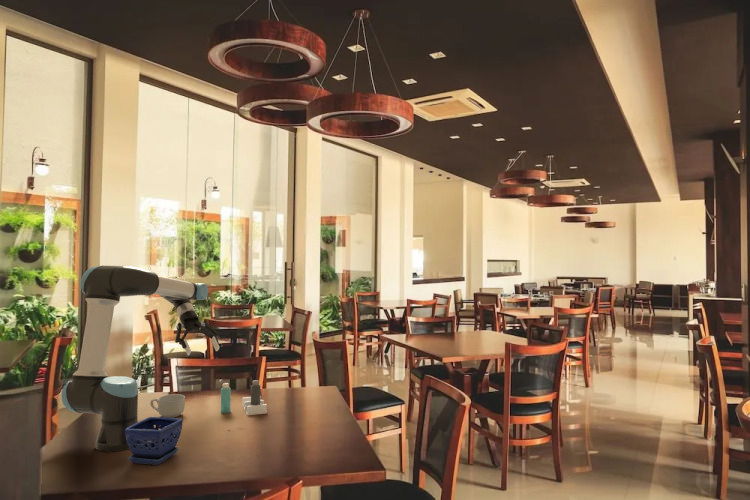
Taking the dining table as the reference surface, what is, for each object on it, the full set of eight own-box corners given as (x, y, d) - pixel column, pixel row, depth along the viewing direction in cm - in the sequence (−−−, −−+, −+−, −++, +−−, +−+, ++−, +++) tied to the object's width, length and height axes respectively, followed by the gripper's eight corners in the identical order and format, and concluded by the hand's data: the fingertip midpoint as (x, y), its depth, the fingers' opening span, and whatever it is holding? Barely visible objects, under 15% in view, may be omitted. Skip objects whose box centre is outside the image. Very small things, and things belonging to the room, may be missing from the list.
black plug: (261, 412, 222) (261, 381, 222) (251, 413, 220) (251, 382, 220) (259, 409, 225) (259, 379, 226) (250, 410, 224) (250, 380, 224)
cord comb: (266, 415, 220) (266, 404, 220) (247, 417, 217) (247, 406, 217) (260, 405, 235) (260, 395, 235) (242, 407, 232) (242, 397, 232)
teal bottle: (231, 415, 221) (231, 384, 221) (221, 416, 220) (221, 385, 220) (229, 412, 225) (230, 382, 225) (220, 413, 223) (220, 383, 224)
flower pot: (160, 468, 164) (160, 430, 164) (123, 465, 166) (123, 427, 166) (183, 453, 177) (184, 418, 177) (149, 450, 179) (149, 416, 179)
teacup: (189, 412, 225) (189, 394, 225) (177, 420, 214) (177, 400, 214) (158, 412, 226) (158, 393, 227) (145, 419, 216) (145, 400, 216)
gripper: (209, 318, 251) (225, 353, 240) (158, 322, 232) (173, 360, 222) (215, 307, 247) (232, 342, 237) (163, 311, 229) (179, 349, 218)
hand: (204, 351), depth 229 cm, fingers open, 13 cm apart
